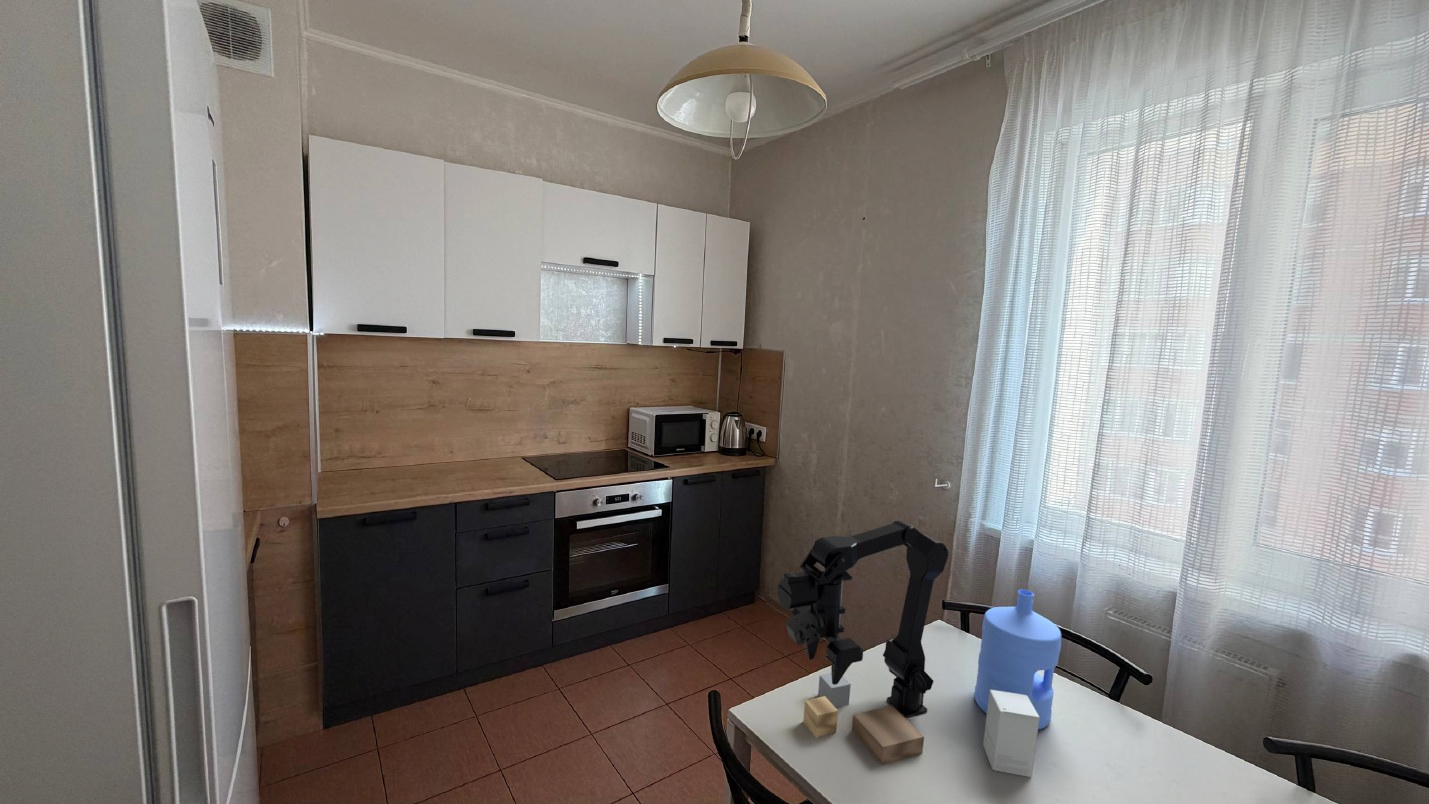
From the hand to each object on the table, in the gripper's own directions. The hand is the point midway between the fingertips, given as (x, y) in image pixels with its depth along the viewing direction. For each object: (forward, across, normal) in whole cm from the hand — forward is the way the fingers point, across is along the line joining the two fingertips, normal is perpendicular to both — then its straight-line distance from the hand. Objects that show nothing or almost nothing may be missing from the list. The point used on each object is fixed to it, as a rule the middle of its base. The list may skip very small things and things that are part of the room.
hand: (822, 671), depth 120 cm
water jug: (+14, +8, +46) cm, 49 cm away
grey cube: (+13, -7, +8) cm, 17 cm away
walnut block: (+13, +8, +11) cm, 19 cm away
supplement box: (+14, +20, +31) cm, 39 cm away
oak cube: (+13, 0, 0) cm, 13 cm away
